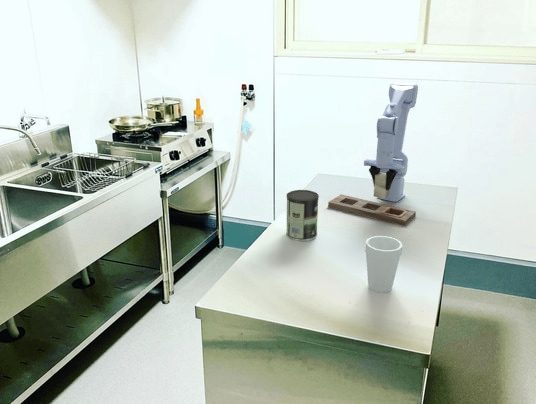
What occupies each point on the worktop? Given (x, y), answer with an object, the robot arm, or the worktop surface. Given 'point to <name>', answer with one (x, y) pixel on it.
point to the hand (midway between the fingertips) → (381, 188)
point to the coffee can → (302, 215)
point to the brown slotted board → (380, 210)
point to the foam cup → (382, 262)
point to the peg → (380, 186)
